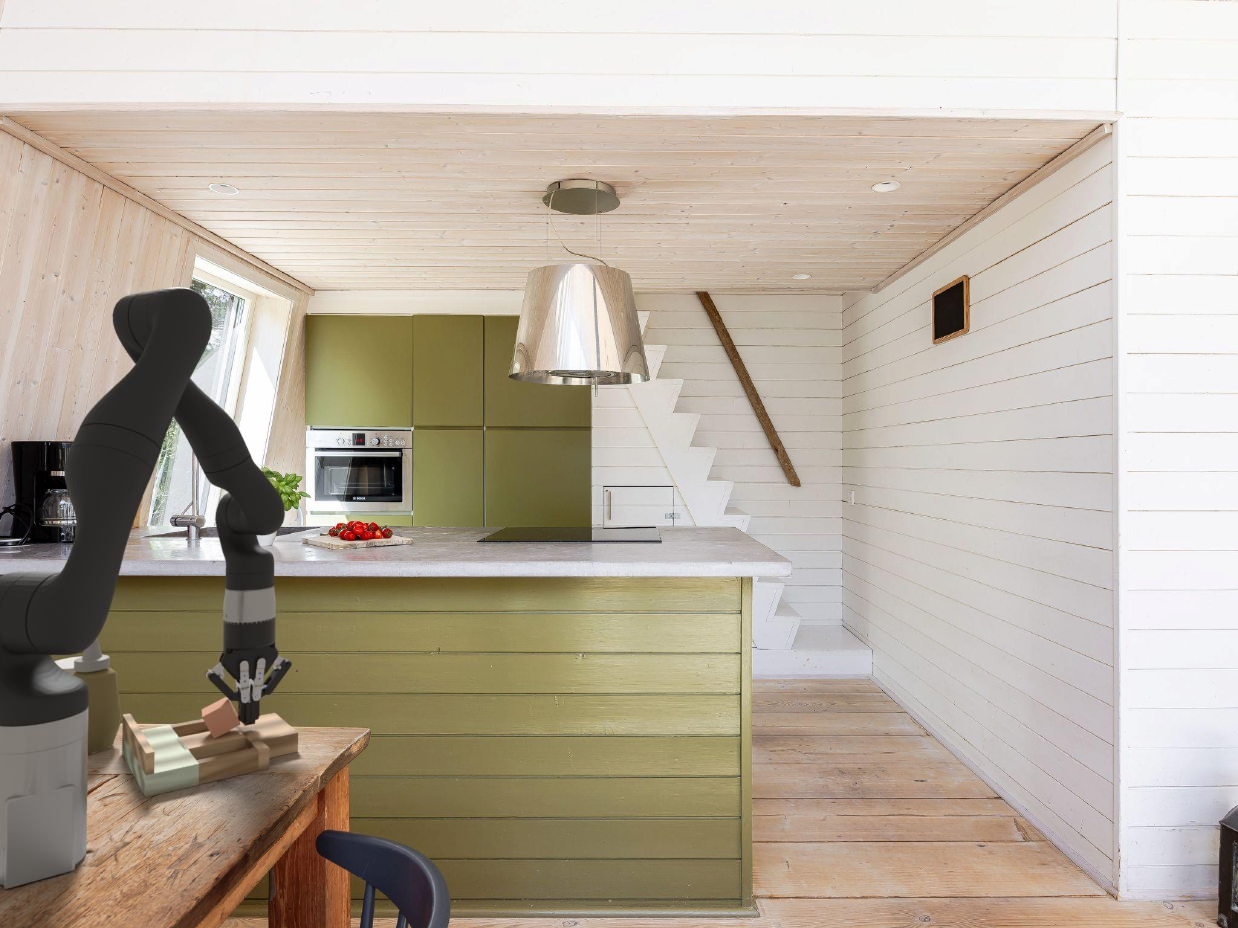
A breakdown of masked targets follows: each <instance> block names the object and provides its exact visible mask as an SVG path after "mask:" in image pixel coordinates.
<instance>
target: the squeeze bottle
mask: <svg viewBox="0 0 1238 928" xmlns="http://www.w3.org/2000/svg"><path fill="white" fill-rule="evenodd" d="M98 637H99V636H98ZM98 637H97V638H96V640H95V641H94V642H93V644H92V645H90V646H89V647H88V648H87V649H86V650H84V651H83V654H82V657H80V656H79V657H80V658H77V659H75V661H74V670H75V671H76V672H73V673H72V675H74V676H76V677H78V678H80V679H82V680H83V681H85V682H86V684H87V685H88V689H89V705H88V754H94V753H98V752H101V751H105V750H108V749H109V748H111V747H112V746H113V745H114V743H115V740H116V736H117V734H118V732H119V730H120V728H121V727H120V726H121V723H122V722H123V719H122V713H121V712H122V711H121V701H120V693H119V684H118V673H117V671H116V670H114V669H113V668H111V667H110V666H111V662H110V660H111V657H110V656H109V655H108V654H107V655H106V654H103V653H102V650H101V646H100V642H99V639H98Z"/></svg>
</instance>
